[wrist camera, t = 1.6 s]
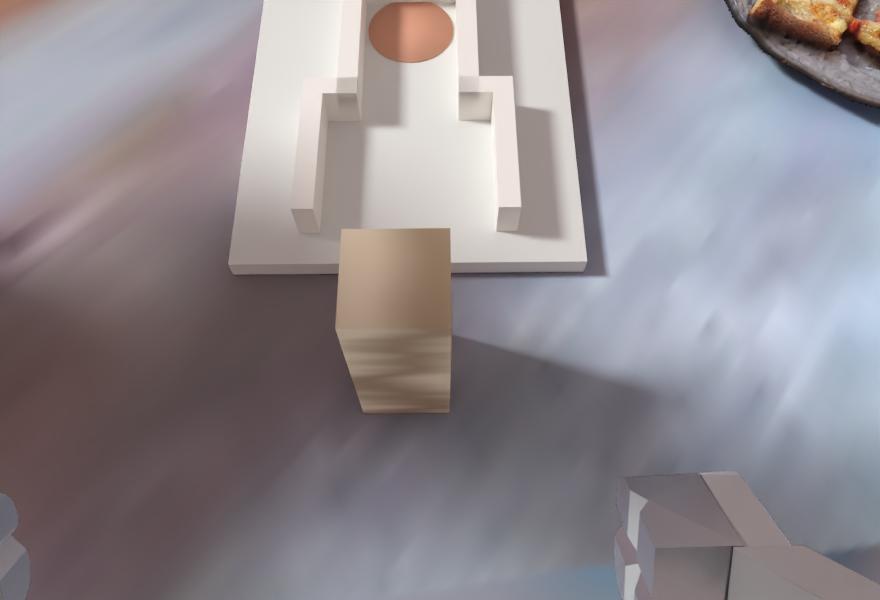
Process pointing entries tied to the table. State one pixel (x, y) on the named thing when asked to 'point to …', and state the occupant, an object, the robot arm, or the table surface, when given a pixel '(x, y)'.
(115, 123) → the table surface
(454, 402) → the table surface
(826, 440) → the table surface
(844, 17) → the food plate
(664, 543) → the robot arm
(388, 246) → the beech peg
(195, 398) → the table surface
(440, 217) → the keyhole dock
